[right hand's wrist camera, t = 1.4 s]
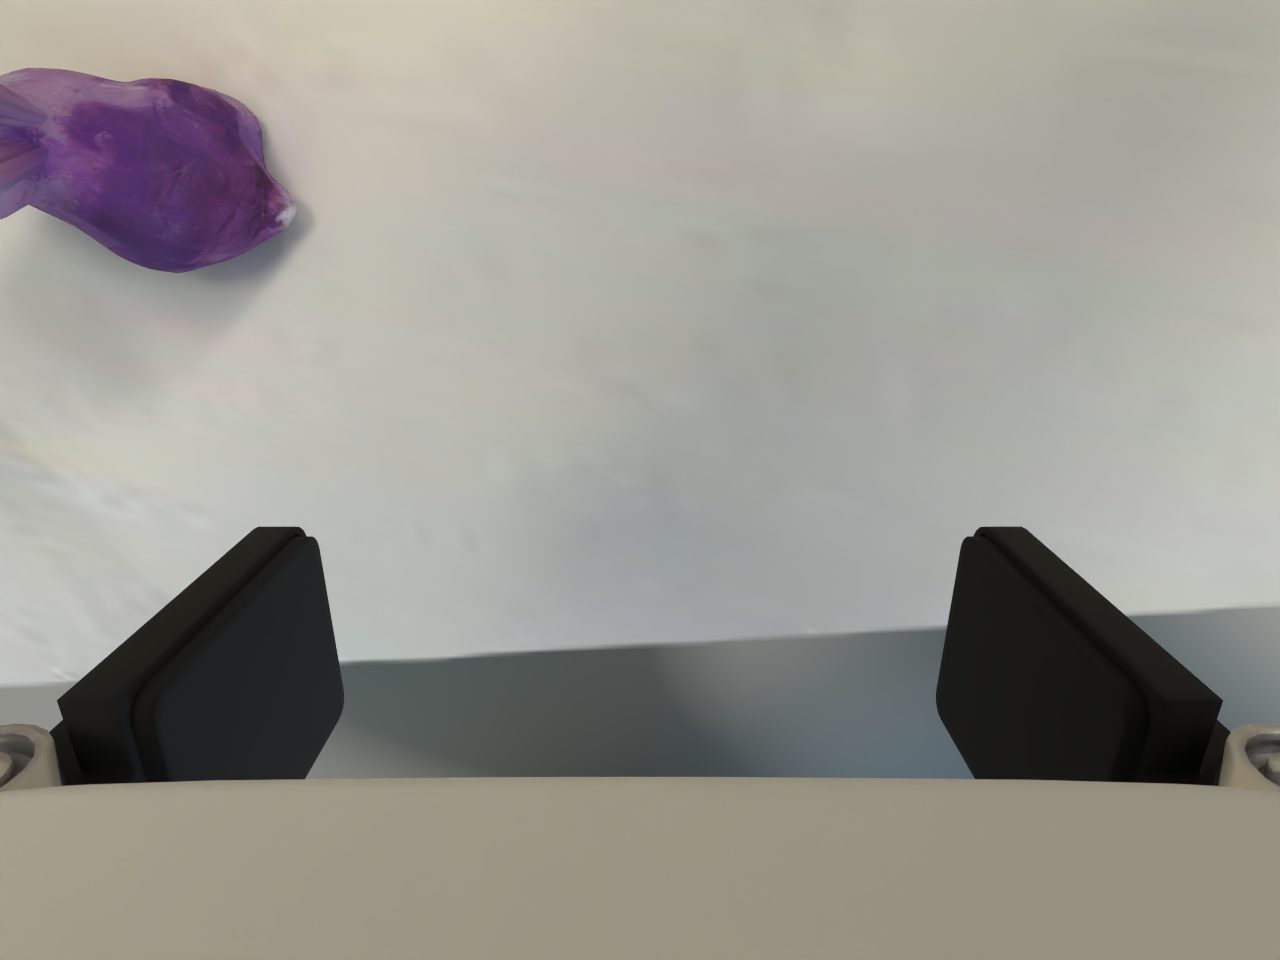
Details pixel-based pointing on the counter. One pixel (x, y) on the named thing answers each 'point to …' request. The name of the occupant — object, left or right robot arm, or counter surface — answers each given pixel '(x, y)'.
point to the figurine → (139, 166)
